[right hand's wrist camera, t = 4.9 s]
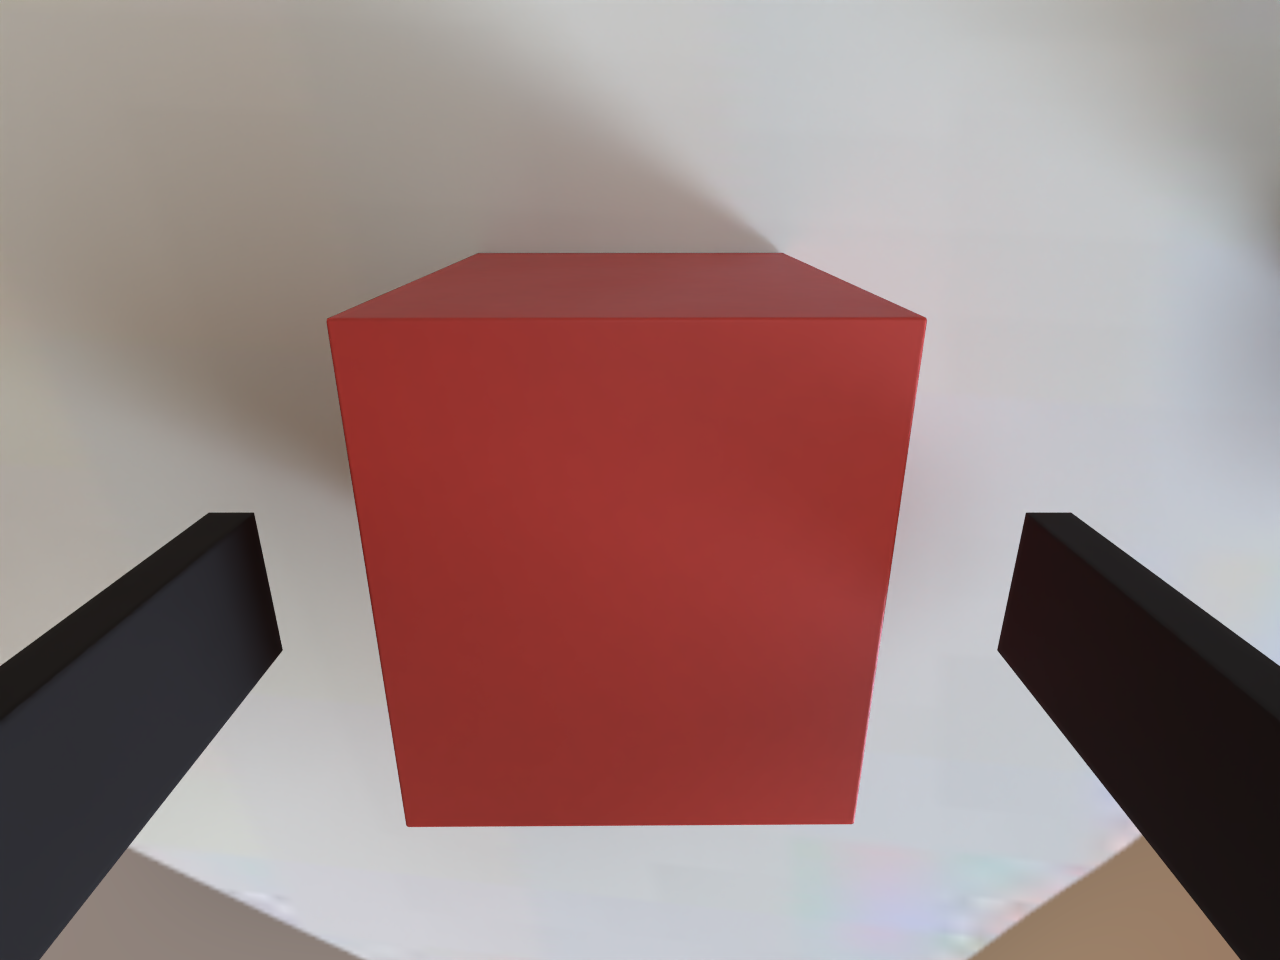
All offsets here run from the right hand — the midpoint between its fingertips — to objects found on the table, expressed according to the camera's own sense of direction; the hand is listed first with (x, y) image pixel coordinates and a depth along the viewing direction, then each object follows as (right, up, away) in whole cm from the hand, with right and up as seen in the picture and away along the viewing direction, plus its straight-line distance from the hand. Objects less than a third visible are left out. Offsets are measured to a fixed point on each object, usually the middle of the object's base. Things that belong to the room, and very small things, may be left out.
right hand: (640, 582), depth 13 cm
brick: (0, +4, +8) cm, 9 cm away
